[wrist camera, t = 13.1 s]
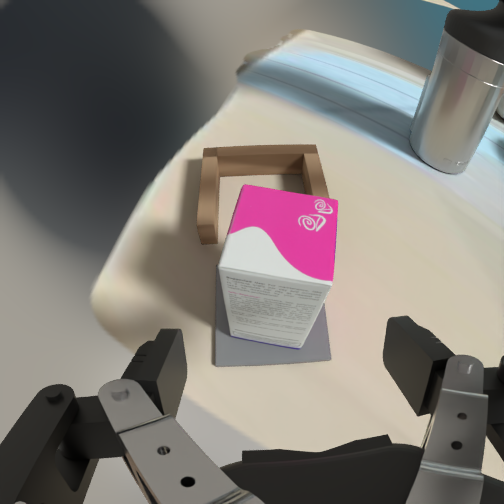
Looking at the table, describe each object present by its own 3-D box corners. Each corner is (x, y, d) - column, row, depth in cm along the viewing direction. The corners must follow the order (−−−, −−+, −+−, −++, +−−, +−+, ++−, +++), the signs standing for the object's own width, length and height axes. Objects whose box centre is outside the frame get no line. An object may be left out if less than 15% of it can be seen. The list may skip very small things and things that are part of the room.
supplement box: (303, 351, 24) (333, 289, 15) (229, 338, 25) (209, 267, 15) (313, 286, 27) (340, 196, 18) (244, 274, 28) (236, 180, 18)
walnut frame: (207, 168, 36) (203, 148, 33) (312, 164, 36) (315, 144, 33) (201, 244, 30) (196, 225, 28) (328, 239, 30) (334, 219, 28)
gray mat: (217, 267, 29) (216, 264, 29) (317, 262, 29) (317, 260, 29) (216, 366, 24) (215, 365, 24) (330, 360, 24) (331, 359, 24)
